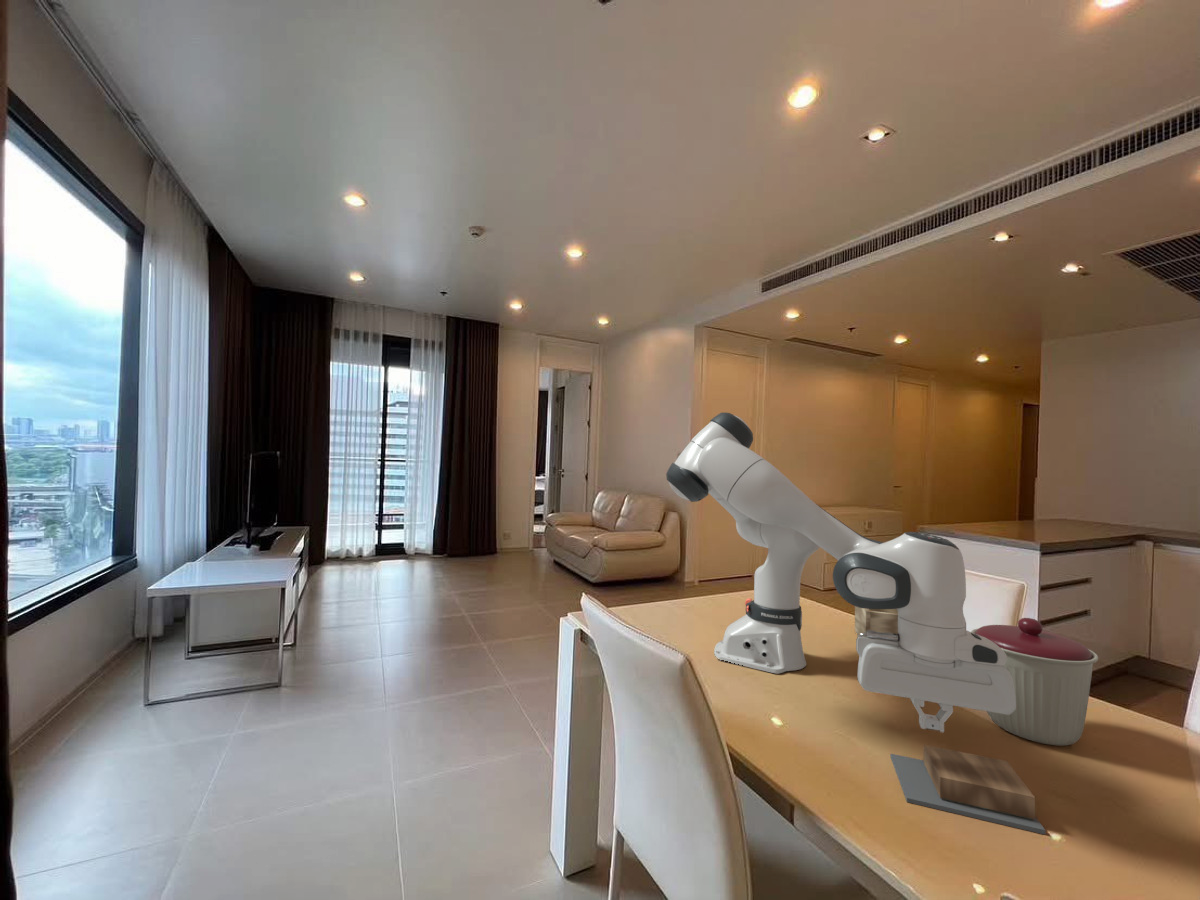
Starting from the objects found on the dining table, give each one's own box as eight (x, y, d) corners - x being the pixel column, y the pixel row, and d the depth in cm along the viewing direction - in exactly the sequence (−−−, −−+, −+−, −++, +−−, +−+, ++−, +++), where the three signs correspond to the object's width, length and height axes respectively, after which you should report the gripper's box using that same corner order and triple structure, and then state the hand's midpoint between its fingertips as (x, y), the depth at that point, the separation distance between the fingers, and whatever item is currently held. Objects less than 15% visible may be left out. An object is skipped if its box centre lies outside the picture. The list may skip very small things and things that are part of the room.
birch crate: (866, 657, 126) (866, 611, 126) (854, 631, 146) (855, 592, 147) (919, 665, 122) (919, 617, 122) (900, 637, 142) (900, 596, 143)
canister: (1068, 769, 79) (1065, 639, 80) (951, 716, 96) (950, 609, 97) (1120, 746, 87) (1118, 628, 87) (1003, 701, 103) (1002, 602, 104)
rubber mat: (906, 802, 70) (906, 797, 70) (890, 757, 81) (890, 753, 81) (1045, 834, 64) (1045, 830, 64) (1007, 781, 76) (1007, 777, 76)
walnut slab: (940, 776, 70) (1034, 797, 66) (923, 744, 79) (1006, 760, 75) (940, 799, 70) (1035, 821, 66) (923, 765, 78) (1007, 782, 74)
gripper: (858, 634, 76) (858, 724, 75) (1020, 656, 68) (1021, 755, 68) (853, 623, 82) (853, 706, 81) (1002, 641, 74) (1003, 733, 74)
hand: (931, 728), depth 74 cm, fingers closed
